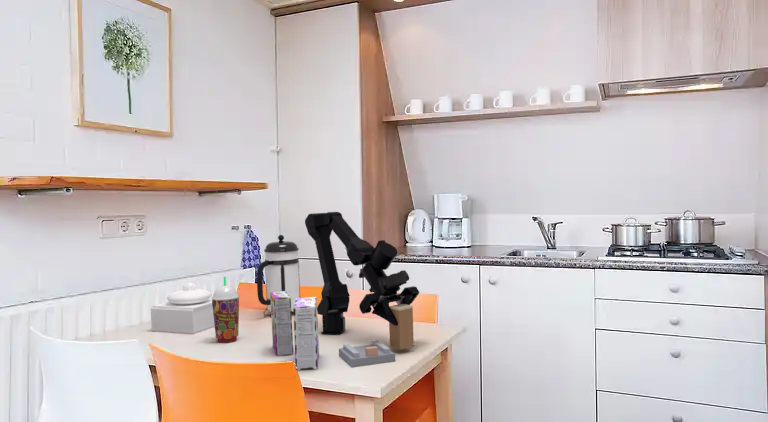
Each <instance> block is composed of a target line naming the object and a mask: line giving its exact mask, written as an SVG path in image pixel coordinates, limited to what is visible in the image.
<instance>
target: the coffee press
mask: <svg viewBox="0 0 768 422" xmlns="http://www.w3.org/2000/svg"><path fill="white" fill-rule="evenodd" d="M277 239H278V241H272V242H270V243H268V244H267V245H266V246H265V248H264V249H263V250H264V251H263V252H264V254H265V255H264V257H265V259H264V261H262V262H261V263H260V264H259V265H258V267H257V270H256V289H257V290H256V291H257V299H258V301H259V303H260V304H261V305H264V306H267V307H266V309H265V310H264V311H263V315H264V316H268V315H269V314H270V313H271V300H270V293H271V292H279V291H280V292H281V291H286V292H287V293H288V295H289V296H290V297H291V313H292V312H293V313H294V305H295V301H296V298H300V296H301V289H300V288H301V287H300V272H299V270H300V262H299V260H300V259H299V258H300V257H299V255H298V253H299V247H298V245H297V244H296V243H295V242H294V241H290V240H289V241H285V240H284V239H285V236H284V235H282V234H279V235H278V236H277ZM264 269H265V283H266V286H265V291H266V295H265V296H266V299H265V298H264V288H263V287H264V286H263V273H264ZM267 310H268V311H269V312H268V313H267V314H265V313H266V311H267Z"/></svg>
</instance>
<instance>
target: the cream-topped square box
mask: <svg viewBox="0 0 768 422" xmlns="http://www.w3.org/2000/svg"><path fill="white" fill-rule="evenodd" d="M389 307H390V309H391V310H392V312H393V314H394V316H395V317H396V319H397V322H398V325H397V326H395V325H393V324H392V323H390V322H389V323H388V328H389V329H388V331H389V332H388V333H389V348H390V347H391V348H394V349H398V350H403V349H407V348H411V347H415V346H414V343H415V342H414V319H413V318H414V309H413V305H411V304H410V305H406V304H395V305H394V304H393V305H389Z"/></svg>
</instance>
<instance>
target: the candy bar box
mask: <svg viewBox="0 0 768 422" xmlns="http://www.w3.org/2000/svg"><path fill="white" fill-rule="evenodd" d="M270 300H271V312H270V313H271V314H270V315H271V317H270V318H271V333H272V335H271V337H272V347H273V350H274V352H275V354H276V357H283V356H292V355H294V341H293V339H294V337H293V336H294V335H293V321H292V319H293V318H292V312H291V297H290V296H289V295H288V293H287V292H286V291H281V292H280V291H279V292H271V293H270Z"/></svg>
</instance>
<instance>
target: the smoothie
mask: <svg viewBox="0 0 768 422" xmlns="http://www.w3.org/2000/svg"><path fill="white" fill-rule="evenodd" d="M210 298H211V299H212V306H213V315H214V325H215V327H214V332H215V338H216V339H217V342H218V343H225V344H227V343H233V342H235V341H236V340H237V339H238V337H239V326H240V325H239V321H240V320H239V319H240V317H239V315H240V314H239V311H240V295H239V293H238V292H237V290H236V289H235V288H234V287H233V286H231V285H227V278H226V276H223V285H222V286H219V287H218V288H216V290H214V293H213V295H212V296H211V297H210Z"/></svg>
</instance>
